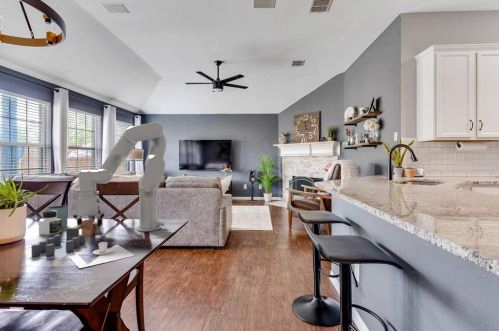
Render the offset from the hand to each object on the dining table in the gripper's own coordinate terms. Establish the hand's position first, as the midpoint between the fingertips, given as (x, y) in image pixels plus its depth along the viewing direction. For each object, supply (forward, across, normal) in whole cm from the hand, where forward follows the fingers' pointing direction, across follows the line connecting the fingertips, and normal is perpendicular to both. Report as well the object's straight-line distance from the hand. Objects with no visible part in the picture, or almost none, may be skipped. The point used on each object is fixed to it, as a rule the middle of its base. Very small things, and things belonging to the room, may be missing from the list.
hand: (89, 226), depth 140 cm
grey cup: (+4, +28, -20) cm, 34 cm away
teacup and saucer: (+5, -19, +30) cm, 36 cm away
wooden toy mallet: (+4, +1, +4) cm, 6 cm away
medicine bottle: (+4, +24, -7) cm, 25 cm away
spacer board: (+4, +1, +23) cm, 24 cm away
